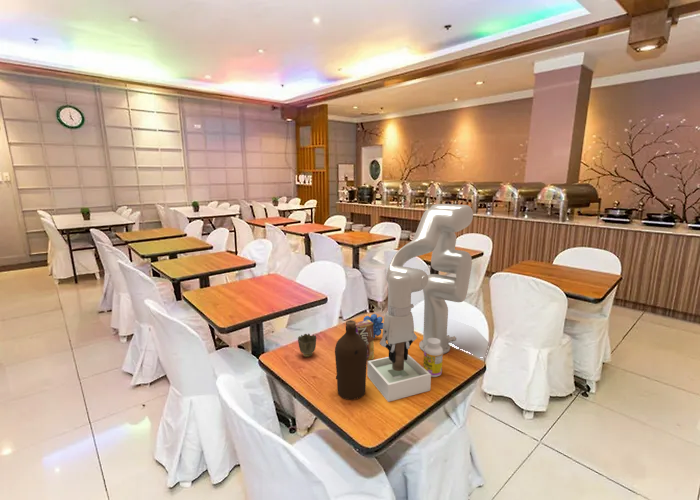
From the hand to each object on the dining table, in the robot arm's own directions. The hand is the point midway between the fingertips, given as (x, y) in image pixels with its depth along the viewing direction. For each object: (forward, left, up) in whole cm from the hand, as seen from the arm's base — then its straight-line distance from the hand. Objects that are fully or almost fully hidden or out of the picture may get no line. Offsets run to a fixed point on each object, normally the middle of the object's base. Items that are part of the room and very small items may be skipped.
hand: (398, 359), depth 123 cm
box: (0, 0, -9) cm, 9 cm away
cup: (+24, -31, -9) cm, 40 cm away
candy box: (+5, -20, -9) cm, 23 cm away
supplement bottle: (-15, -1, -9) cm, 18 cm away
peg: (0, 0, -3) cm, 3 cm away
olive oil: (+17, -2, -9) cm, 19 cm away
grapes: (-6, -35, -9) cm, 37 cm away
